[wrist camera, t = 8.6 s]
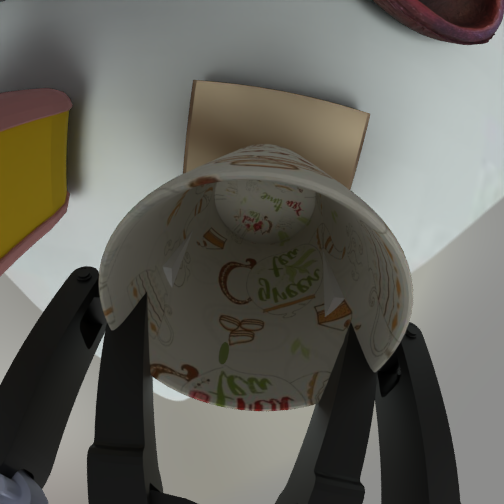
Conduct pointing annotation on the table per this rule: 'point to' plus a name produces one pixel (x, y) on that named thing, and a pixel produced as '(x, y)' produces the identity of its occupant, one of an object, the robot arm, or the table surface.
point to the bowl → (448, 18)
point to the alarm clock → (31, 168)
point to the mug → (256, 279)
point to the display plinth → (273, 126)
